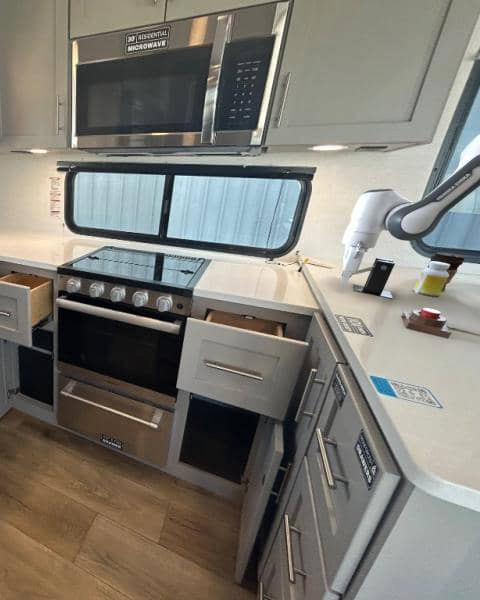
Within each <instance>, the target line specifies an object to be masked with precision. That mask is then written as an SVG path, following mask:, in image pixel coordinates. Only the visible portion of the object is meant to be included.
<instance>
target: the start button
mask: <svg viewBox="0 0 480 600" xmlns="http://www.w3.org/2000/svg"><path fill="white" fill-rule="evenodd" d="M420 314H421V315H423V316H426V317H429V318H434V319H438V318H439V316H441V314H442V312H441V311H439V310H437V309H434V308H430V307H429V308H428V307H422V308H421V312H420Z"/></svg>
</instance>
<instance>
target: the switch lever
mask: <svg viewBox="0 0 480 600" xmlns="http://www.w3.org/2000/svg"><path fill="white" fill-rule="evenodd" d="M386 262H388V261H386ZM372 266H373V265H372ZM372 266H369V267H365V268H362V269H358V271H357V272H356V273H352V274H351V276H350V278H352V276H354V275H359V274H363V273H367V272H370V271H372V270H373V268H374V266H373V267H372Z"/></svg>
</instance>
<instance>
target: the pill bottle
mask: <svg viewBox="0 0 480 600" xmlns="http://www.w3.org/2000/svg"><path fill="white" fill-rule="evenodd" d="M429 262H430V261H429ZM428 265H429V268H428V267H426V268H423V269H422V270H421V272H420V274H419V276H418V278H417V280H416V283H415V285H414V286H413V288H412V292H413V293H415V294H418V295H421V296H426V297H432V298H438V297H439V296H440V294H441V293H442V291H441V290H442V289H443V287H444V285H445V283H446V281H447V279H448V277H449V273H448V272H446V270H447V269H448V268H449V266H450V264H447V263H442V262H436V261H431V262H430V263H428Z"/></svg>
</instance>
